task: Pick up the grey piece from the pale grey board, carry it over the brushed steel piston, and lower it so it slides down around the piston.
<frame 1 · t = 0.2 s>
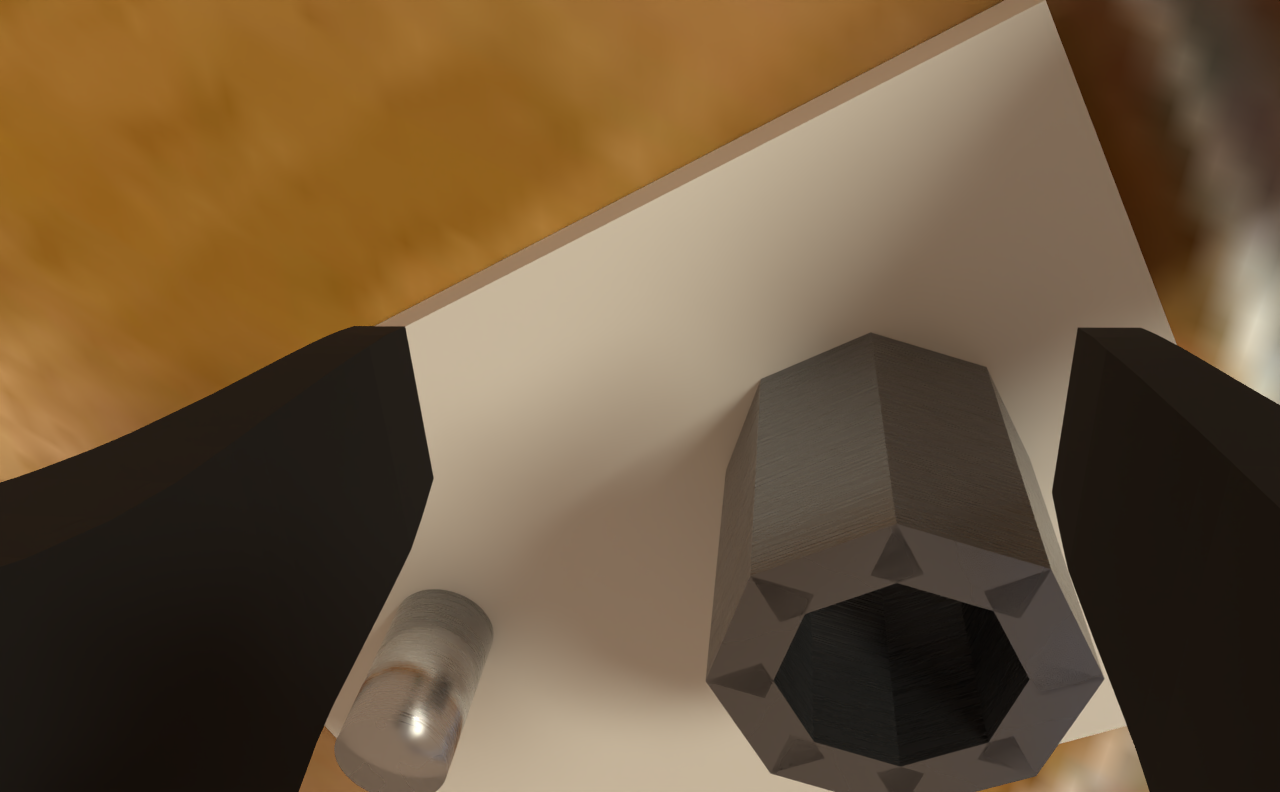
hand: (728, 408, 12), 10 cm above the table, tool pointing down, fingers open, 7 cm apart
piston: (458, 594, 27), resting on board
board: (688, 544, 25), on the table
grey piece: (874, 464, 22), point 1 cm above the table, touching board
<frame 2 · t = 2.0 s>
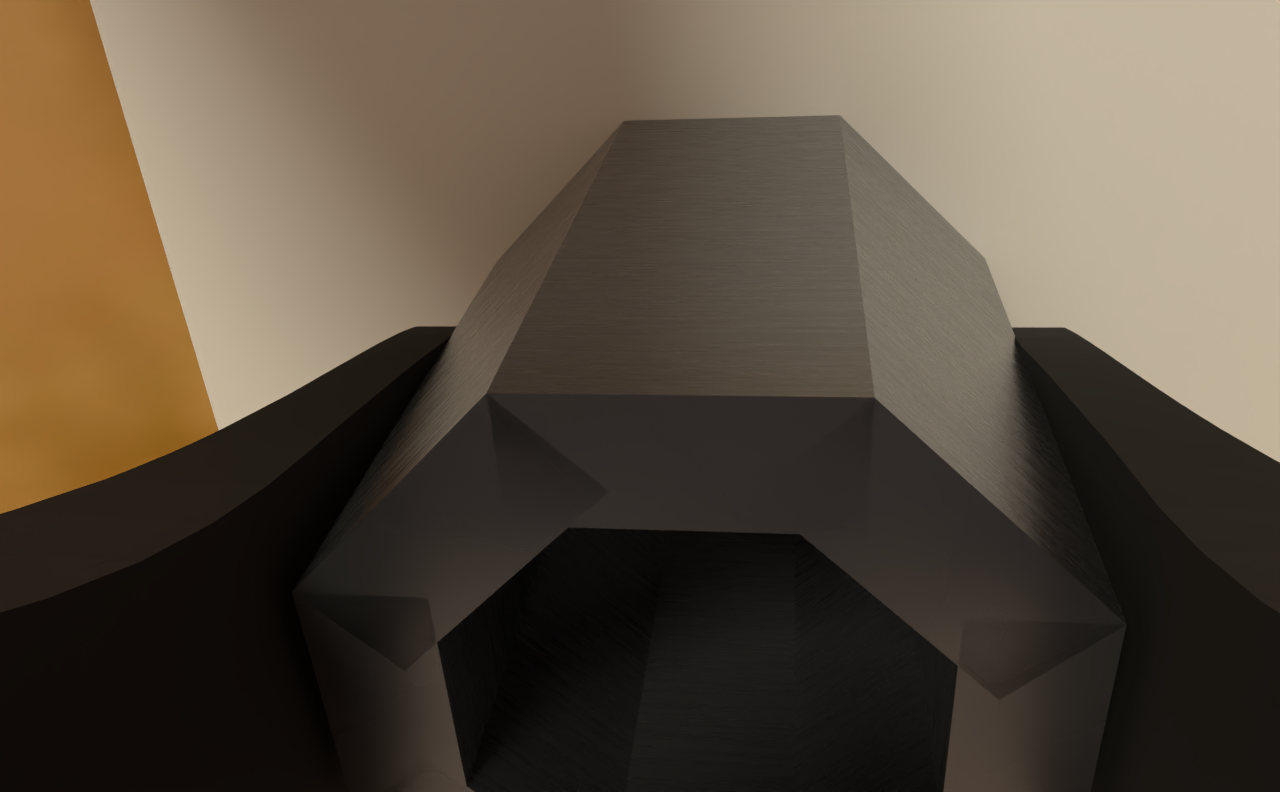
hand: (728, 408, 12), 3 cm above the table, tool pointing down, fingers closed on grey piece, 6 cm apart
board: (810, 605, 16), on the table
grey piece: (734, 349, 13), point 1 cm above the table, touching board, gripper
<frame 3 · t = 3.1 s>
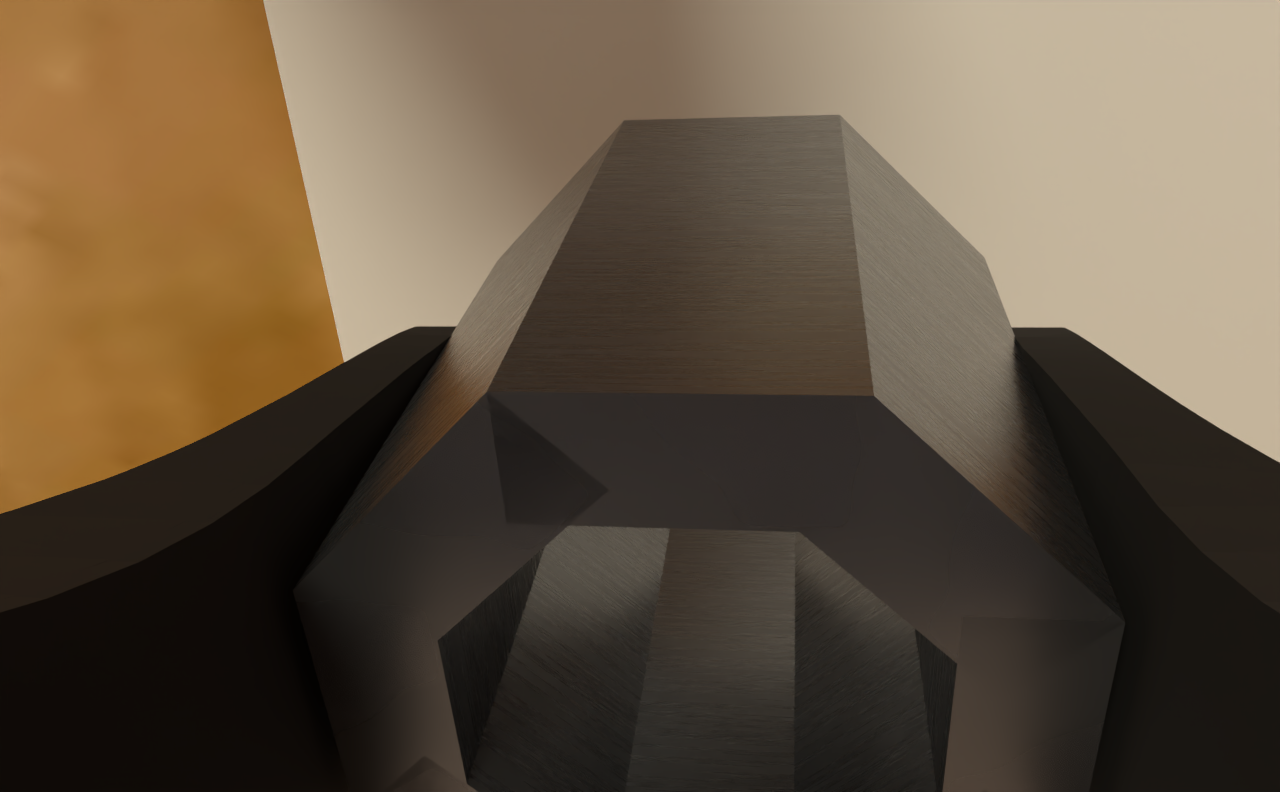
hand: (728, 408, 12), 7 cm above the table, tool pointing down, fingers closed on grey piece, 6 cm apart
board: (803, 453, 20), on the table
grey piece: (734, 348, 13), point 5 cm above the table, touching gripper
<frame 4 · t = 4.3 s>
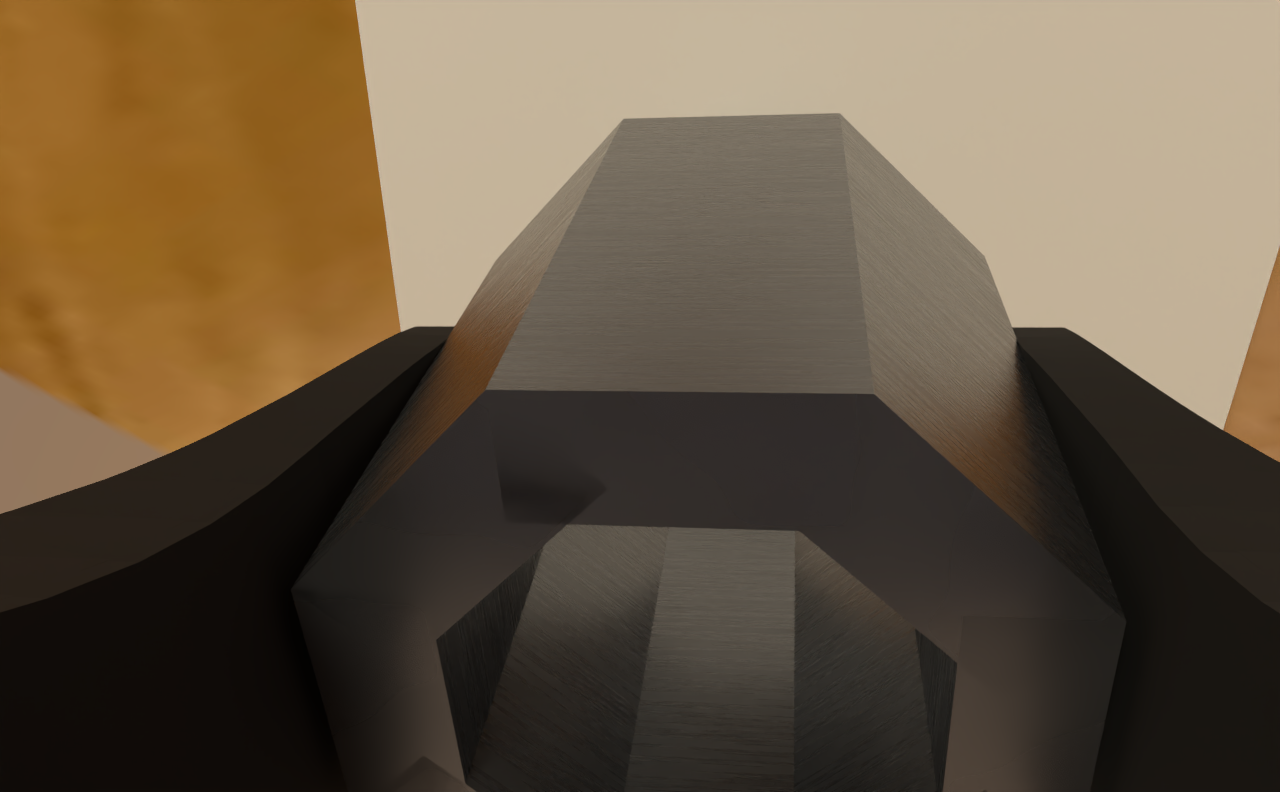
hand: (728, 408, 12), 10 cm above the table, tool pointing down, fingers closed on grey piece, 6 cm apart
grey piece: (734, 347, 13), point 8 cm above the table, touching gripper
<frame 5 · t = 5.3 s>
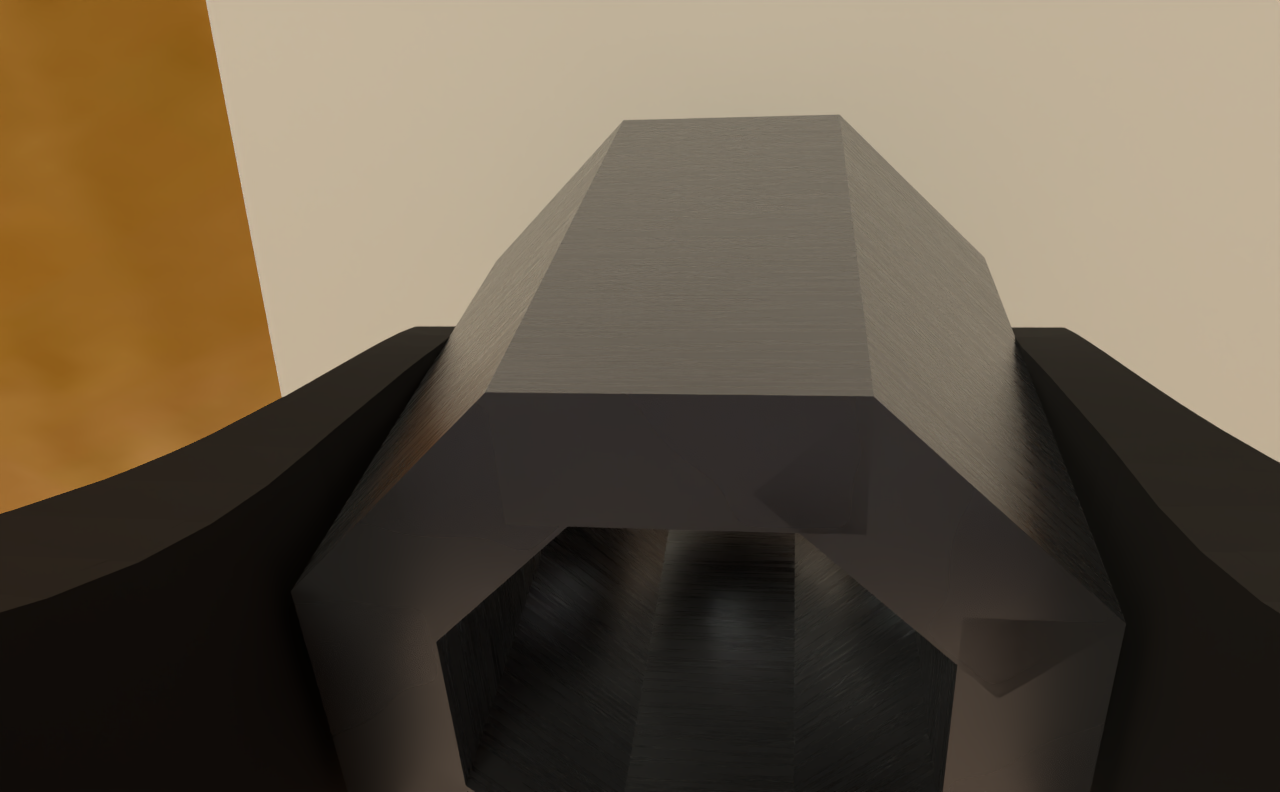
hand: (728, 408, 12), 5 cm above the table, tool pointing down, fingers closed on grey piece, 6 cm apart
grey piece: (734, 348, 13), point 3 cm above the table, touching gripper
when the fingers open (4 cm above the table, at t = 6.4 s): grey piece drops 1 cm, resting on board.
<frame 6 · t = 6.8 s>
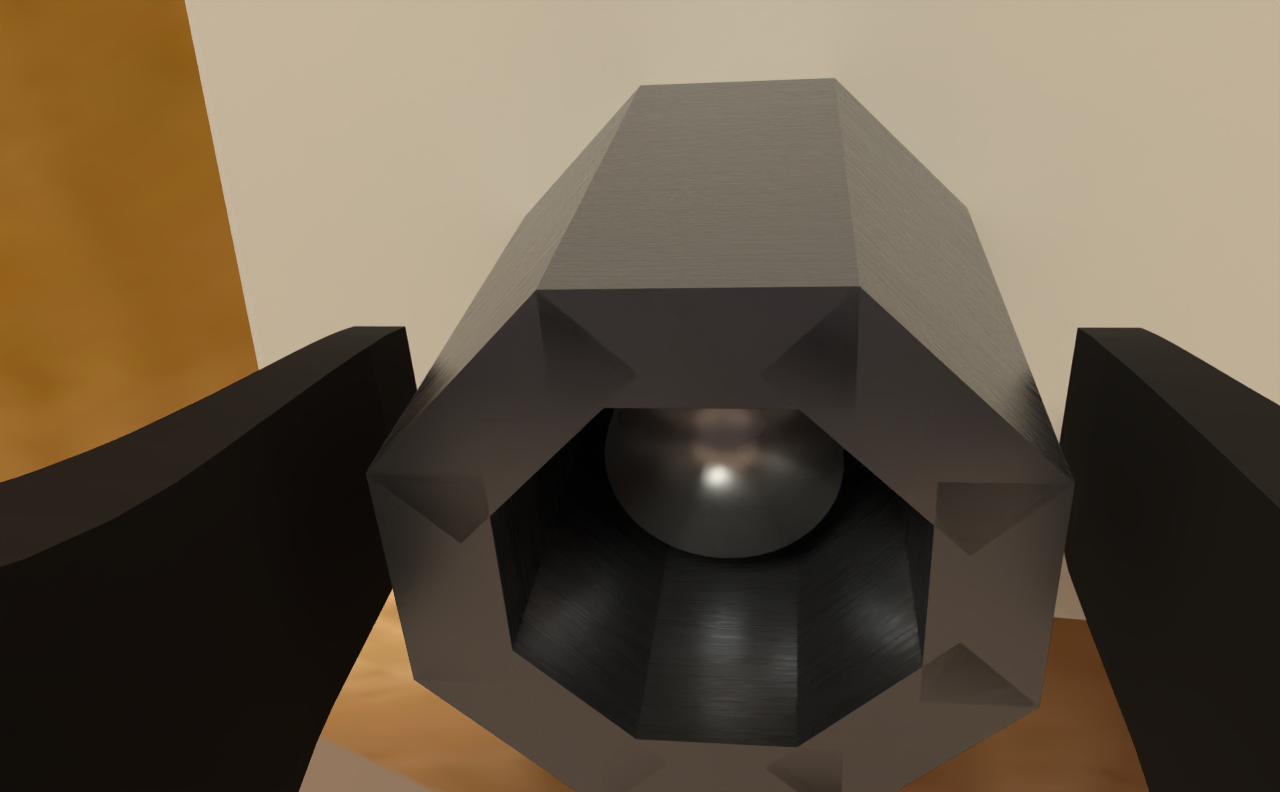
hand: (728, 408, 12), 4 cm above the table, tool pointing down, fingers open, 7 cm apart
piston: (744, 261, 15), resting on board
grey piece: (741, 295, 14), point 1 cm above the table, touching board
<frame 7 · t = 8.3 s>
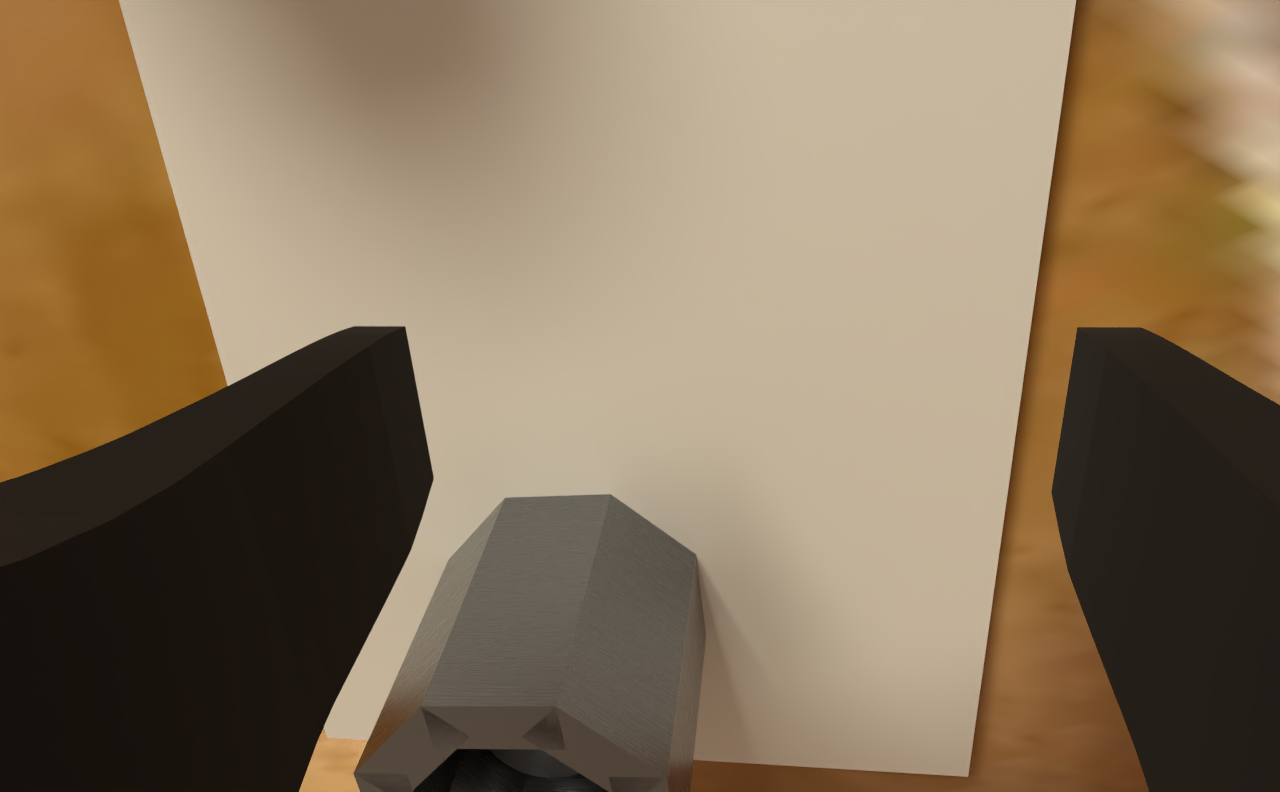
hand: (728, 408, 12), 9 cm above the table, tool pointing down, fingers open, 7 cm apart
piston: (586, 564, 25), resting on board
board: (610, 337, 22), on the table
grey piece: (577, 597, 24), point 1 cm above the table, touching board
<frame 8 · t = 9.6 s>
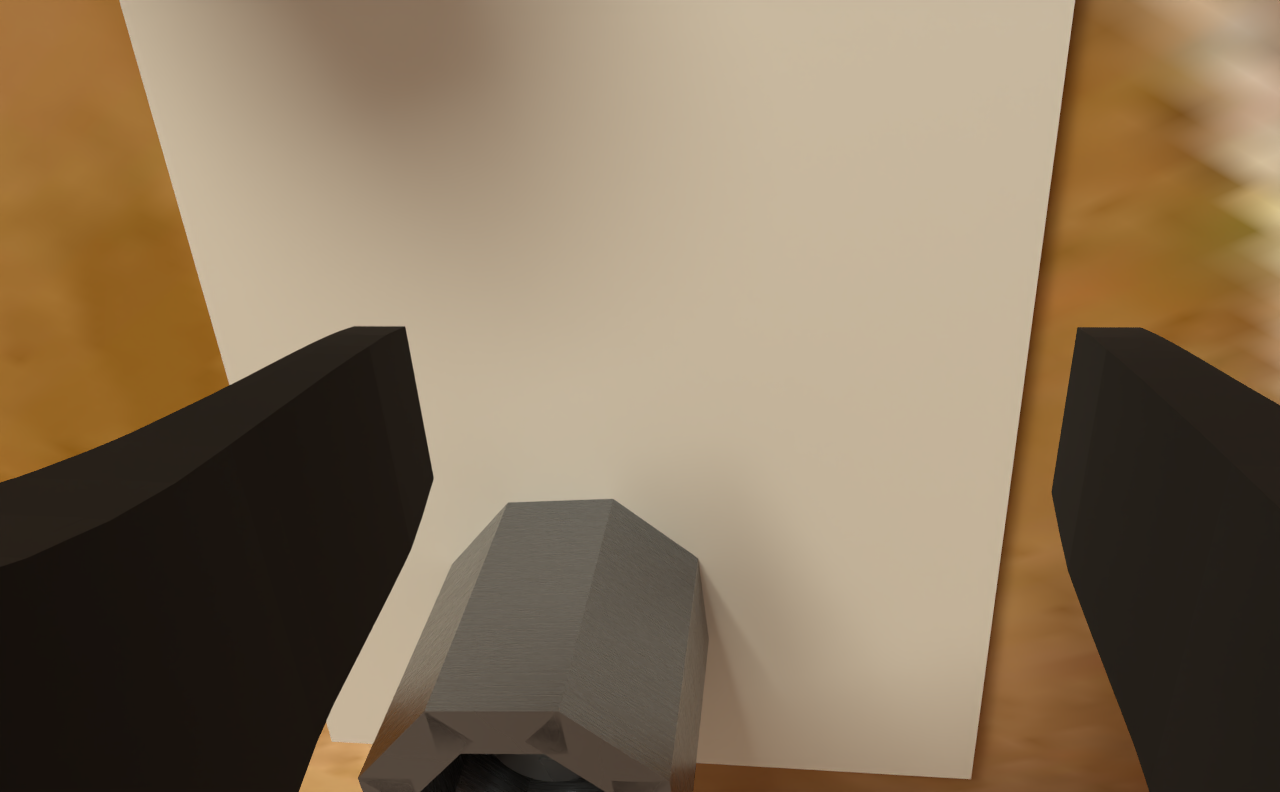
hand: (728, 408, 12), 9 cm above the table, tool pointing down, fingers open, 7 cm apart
piston: (589, 568, 25), resting on board
board: (612, 342, 22), on the table
grey piece: (580, 601, 24), point 1 cm above the table, touching board
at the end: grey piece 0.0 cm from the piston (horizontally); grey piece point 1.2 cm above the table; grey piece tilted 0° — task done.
